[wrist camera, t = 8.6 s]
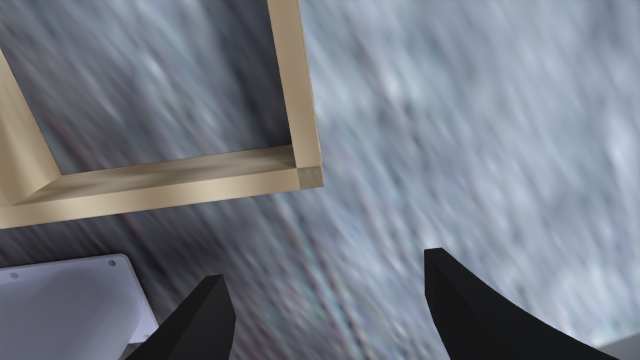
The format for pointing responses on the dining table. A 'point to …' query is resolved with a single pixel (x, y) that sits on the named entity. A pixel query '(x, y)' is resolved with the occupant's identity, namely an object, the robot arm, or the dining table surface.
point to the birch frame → (162, 177)
